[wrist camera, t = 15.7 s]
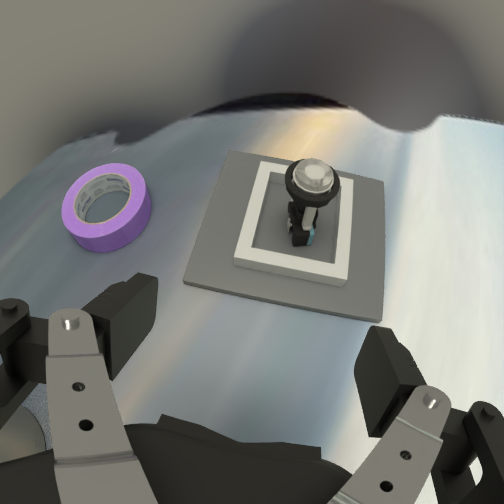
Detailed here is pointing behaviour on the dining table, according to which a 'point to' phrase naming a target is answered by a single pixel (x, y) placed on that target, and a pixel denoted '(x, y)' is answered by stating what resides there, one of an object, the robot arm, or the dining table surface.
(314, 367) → the dining table surface
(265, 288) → the plate
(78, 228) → the masking tape
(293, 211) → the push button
